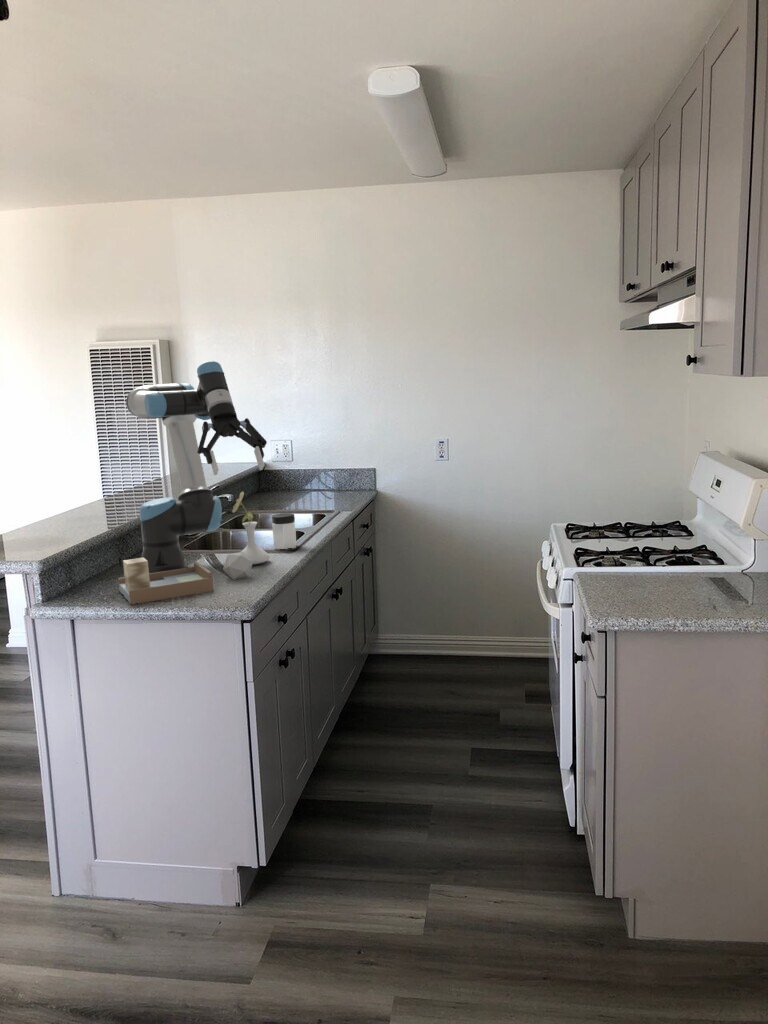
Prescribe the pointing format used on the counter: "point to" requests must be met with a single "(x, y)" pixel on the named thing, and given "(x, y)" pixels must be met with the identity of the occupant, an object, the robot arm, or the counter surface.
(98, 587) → the counter surface
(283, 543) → the jar
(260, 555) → the flower in vase
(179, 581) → the box
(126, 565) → the block
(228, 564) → the die
